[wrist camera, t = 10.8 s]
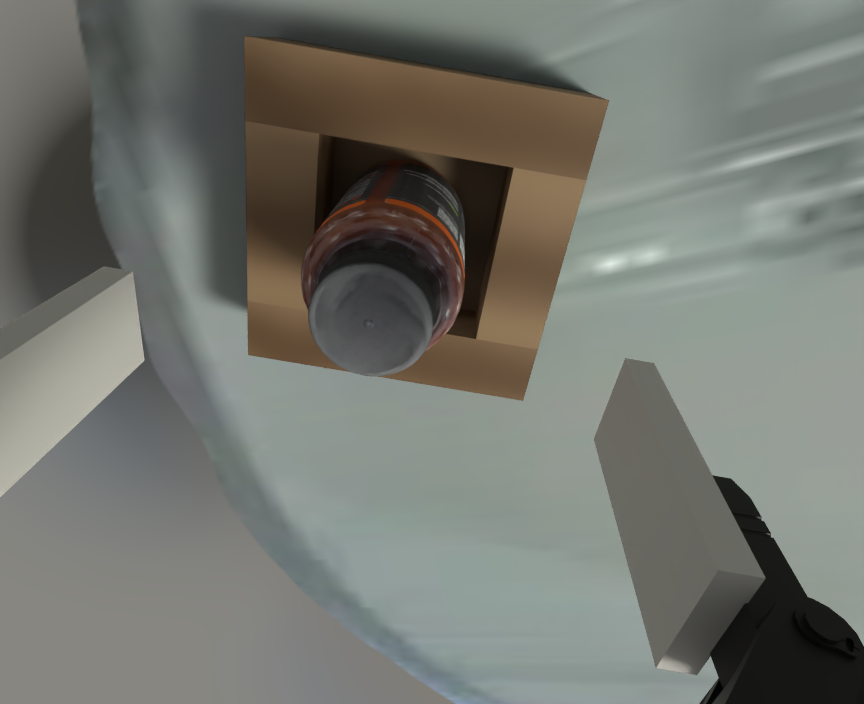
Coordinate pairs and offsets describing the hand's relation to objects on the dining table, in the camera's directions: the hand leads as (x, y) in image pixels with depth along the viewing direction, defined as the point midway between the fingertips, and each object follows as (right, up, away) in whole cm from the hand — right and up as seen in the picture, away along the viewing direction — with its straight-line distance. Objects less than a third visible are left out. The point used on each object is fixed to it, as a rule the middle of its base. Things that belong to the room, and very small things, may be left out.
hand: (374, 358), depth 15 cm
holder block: (+1, +7, +13) cm, 15 cm away
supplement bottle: (0, +7, +12) cm, 14 cm away
